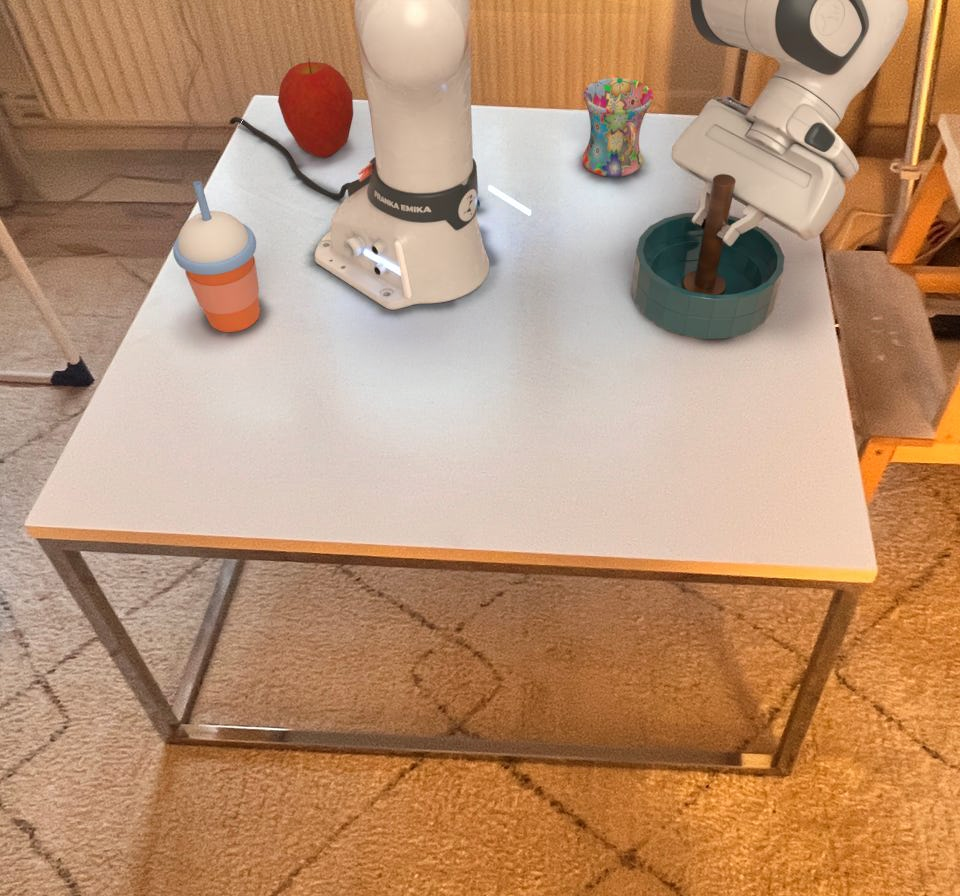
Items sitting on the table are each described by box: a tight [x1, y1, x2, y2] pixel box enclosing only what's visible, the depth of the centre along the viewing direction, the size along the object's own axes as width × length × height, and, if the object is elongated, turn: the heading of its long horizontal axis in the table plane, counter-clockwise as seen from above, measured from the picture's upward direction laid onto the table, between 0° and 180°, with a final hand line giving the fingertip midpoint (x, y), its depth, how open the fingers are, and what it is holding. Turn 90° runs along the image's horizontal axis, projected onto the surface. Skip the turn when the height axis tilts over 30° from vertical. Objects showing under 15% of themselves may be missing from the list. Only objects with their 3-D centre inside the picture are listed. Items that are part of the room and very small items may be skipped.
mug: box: [581, 77, 654, 178], centre depth 127 cm, size 12×9×11 cm
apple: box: [277, 58, 354, 159], centre depth 131 cm, size 10×10×14 cm
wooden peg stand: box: [682, 174, 736, 295], centre depth 105 cm, size 5×5×15 cm
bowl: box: [631, 212, 786, 340], centre depth 109 cm, size 17×17×6 cm
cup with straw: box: [172, 180, 261, 333], centre depth 104 cm, size 9×9×18 cm
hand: (710, 234), depth 104 cm, fingers closed on wooden peg stand, 2 cm apart
